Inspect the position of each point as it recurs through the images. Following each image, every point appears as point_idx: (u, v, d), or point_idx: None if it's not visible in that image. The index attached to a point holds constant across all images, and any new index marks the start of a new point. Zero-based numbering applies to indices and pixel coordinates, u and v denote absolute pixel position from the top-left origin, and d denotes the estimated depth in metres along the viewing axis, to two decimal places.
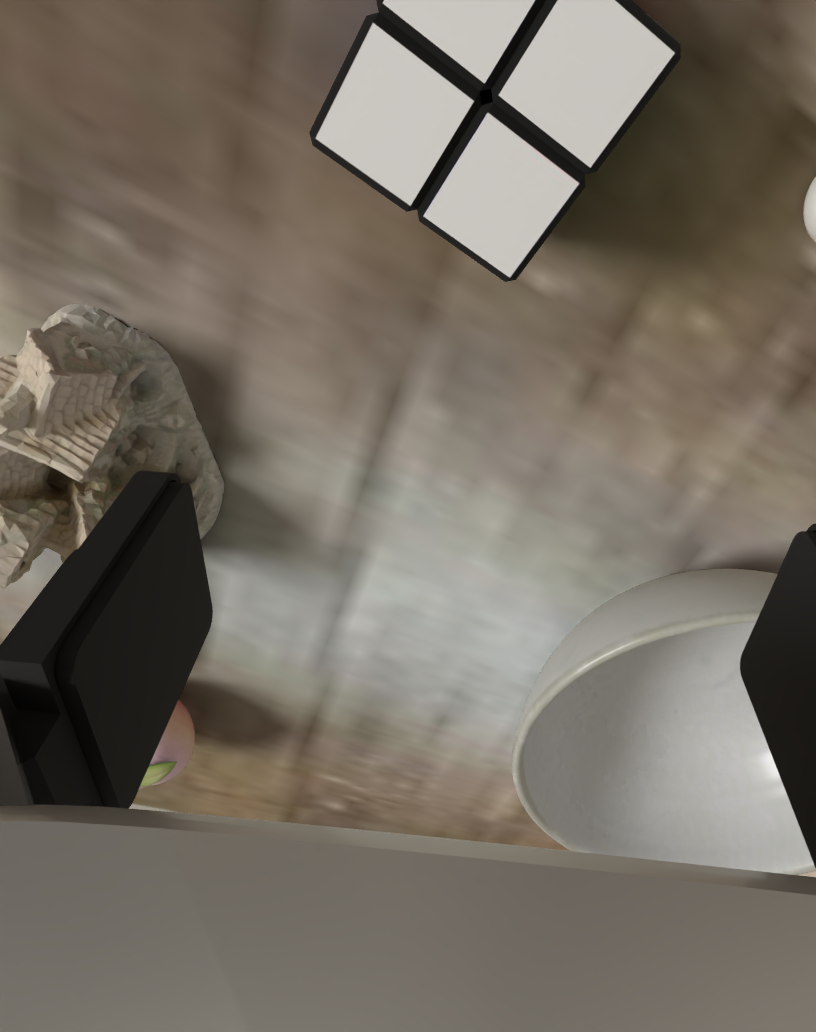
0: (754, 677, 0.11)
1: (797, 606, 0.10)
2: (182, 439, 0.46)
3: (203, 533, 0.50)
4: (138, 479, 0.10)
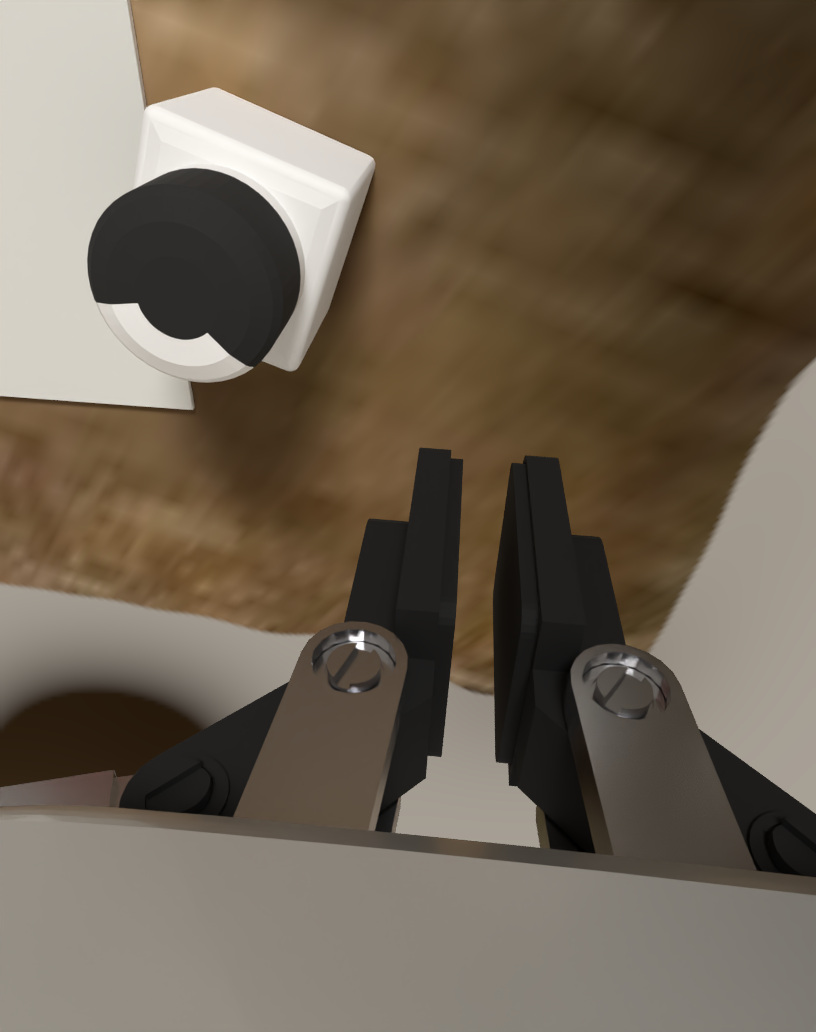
0: (495, 600, 0.12)
1: (506, 529, 0.11)
2: None
3: None
4: (425, 455, 0.11)
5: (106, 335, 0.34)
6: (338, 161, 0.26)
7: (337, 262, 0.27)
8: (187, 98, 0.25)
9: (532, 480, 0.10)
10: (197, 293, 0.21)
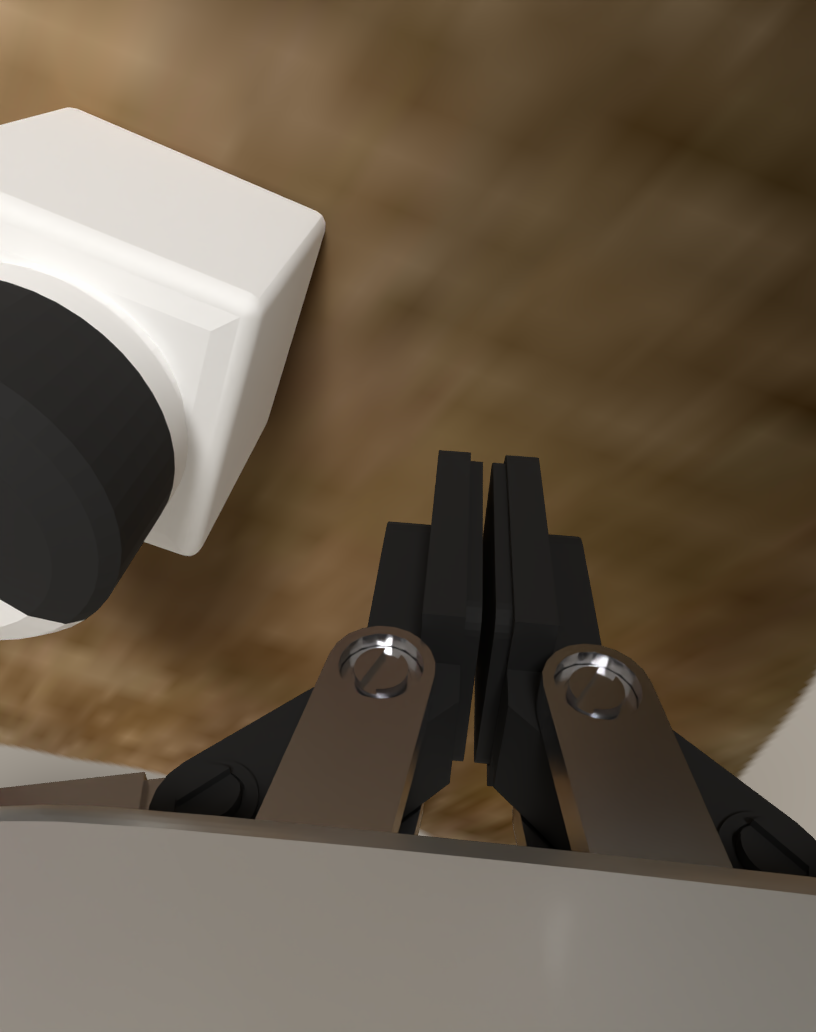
0: None
1: (487, 529, 0.11)
2: None
3: None
4: (444, 458, 0.11)
5: None
6: (255, 232, 0.16)
7: (261, 385, 0.17)
8: None
9: (511, 480, 0.10)
10: None
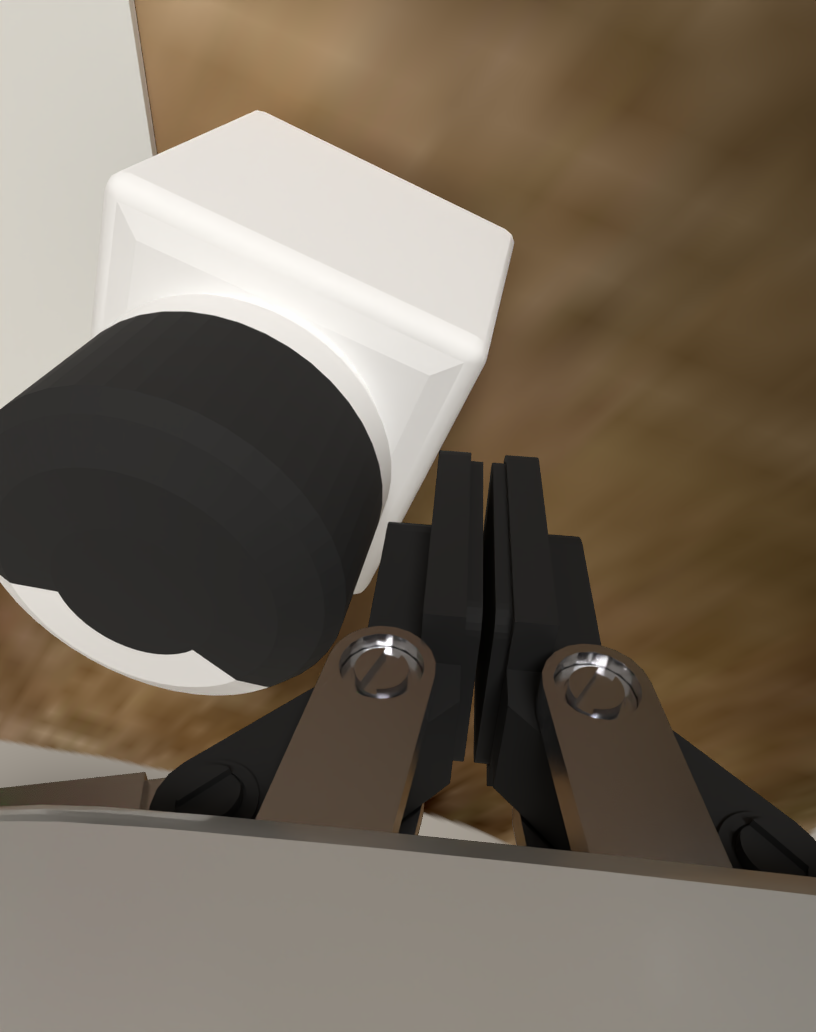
0: None
1: (487, 529, 0.11)
2: None
3: None
4: (445, 458, 0.11)
5: None
6: (460, 258, 0.15)
7: None
8: (201, 144, 0.14)
9: (511, 480, 0.10)
10: (172, 592, 0.10)
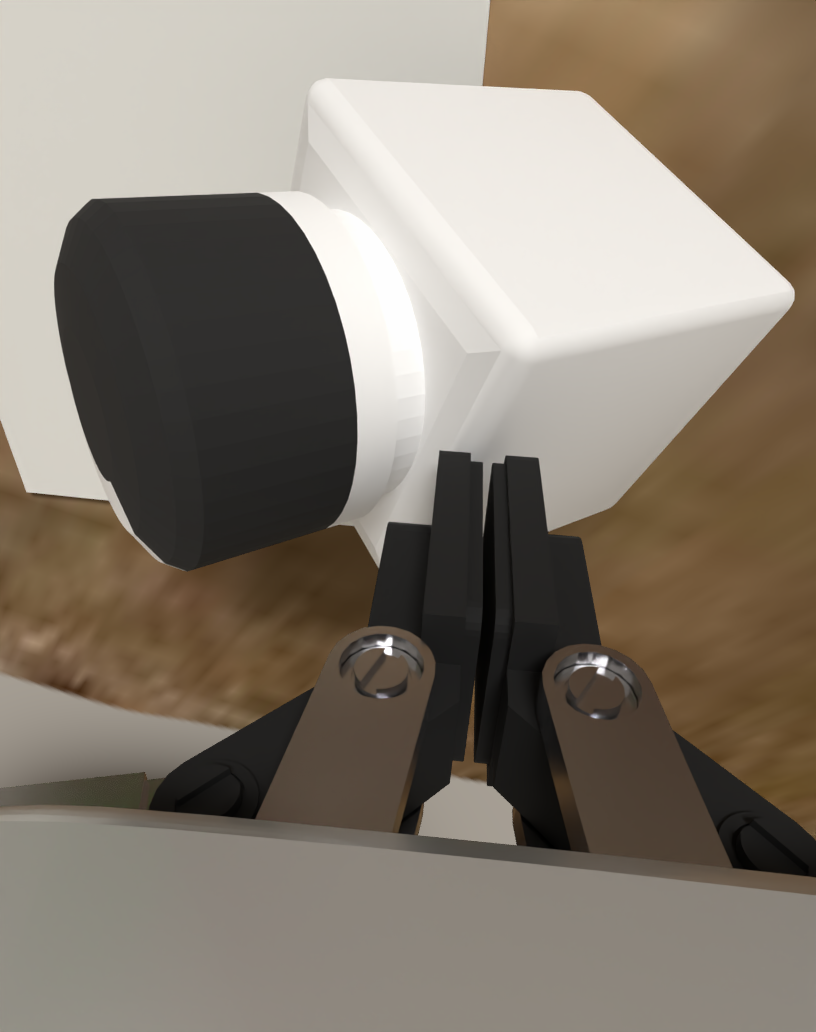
0: None
1: (487, 529, 0.11)
2: None
3: None
4: (445, 458, 0.11)
5: None
6: (646, 271, 0.12)
7: (566, 454, 0.13)
8: (452, 89, 0.14)
9: (511, 480, 0.10)
10: (96, 411, 0.11)
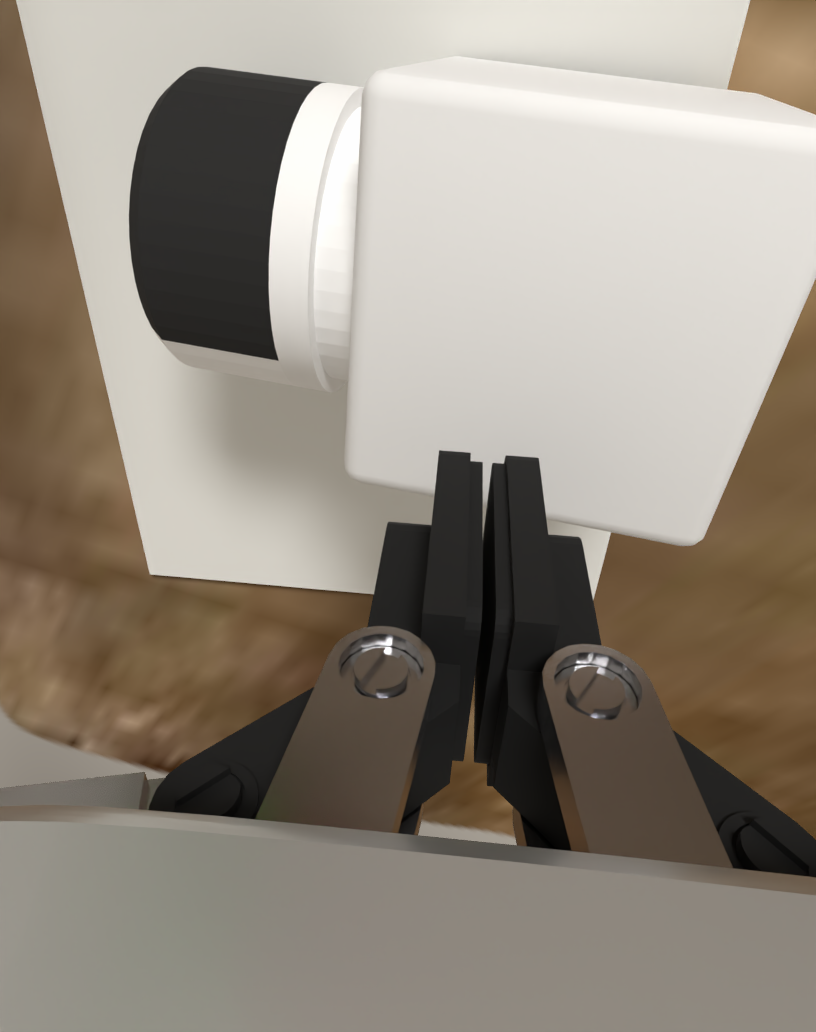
0: None
1: (487, 529, 0.11)
2: None
3: None
4: (444, 458, 0.11)
5: None
6: (605, 92, 0.10)
7: (515, 322, 0.12)
8: (577, 71, 0.15)
9: (511, 480, 0.10)
10: None
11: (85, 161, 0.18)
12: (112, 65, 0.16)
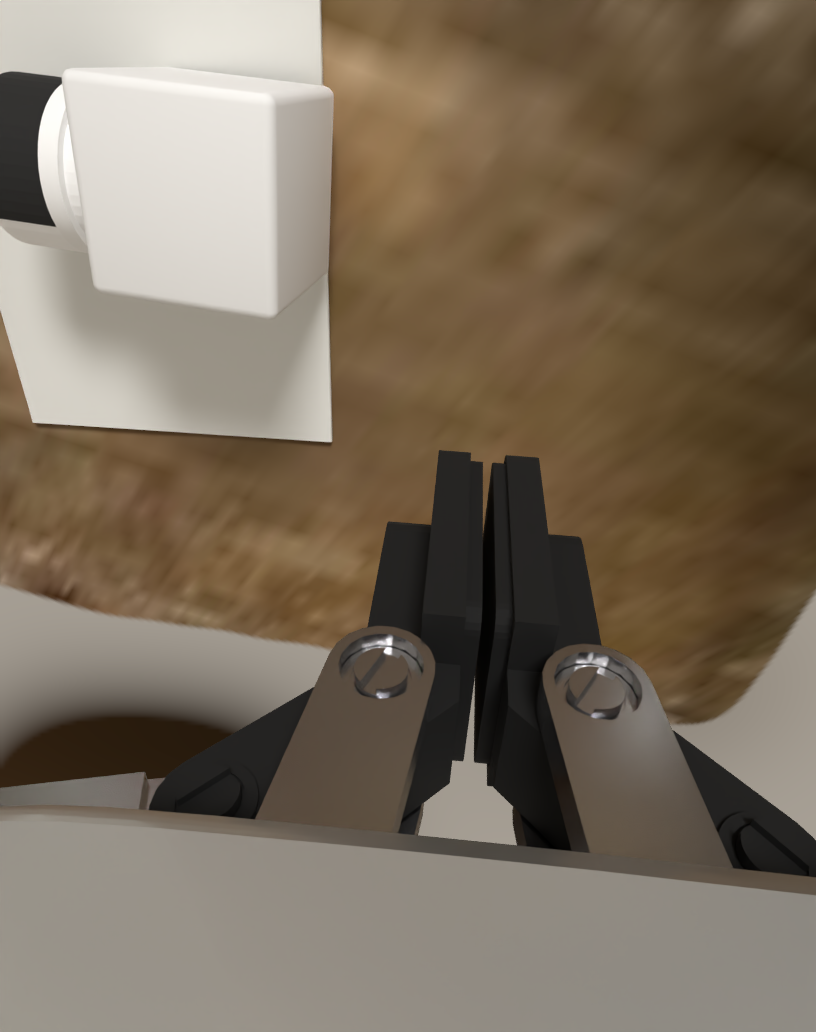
0: None
1: (487, 529, 0.11)
2: None
3: None
4: (444, 458, 0.11)
5: (254, 370, 0.35)
6: (176, 78, 0.23)
7: (151, 191, 0.23)
8: None
9: (511, 480, 0.10)
10: None
11: None
12: None
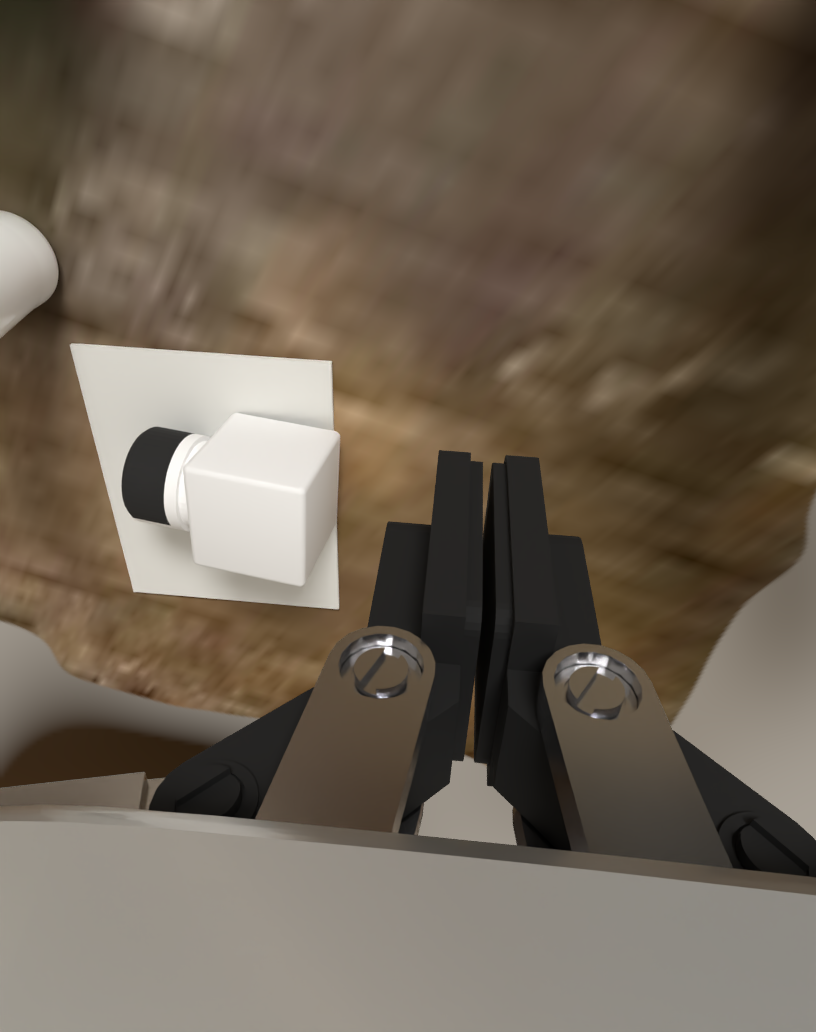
0: None
1: (487, 529, 0.11)
2: None
3: None
4: (444, 458, 0.11)
5: None
6: (248, 467, 0.39)
7: (232, 524, 0.40)
8: (276, 421, 0.43)
9: (511, 480, 0.10)
10: None
11: (105, 436, 0.46)
12: (115, 409, 0.45)
